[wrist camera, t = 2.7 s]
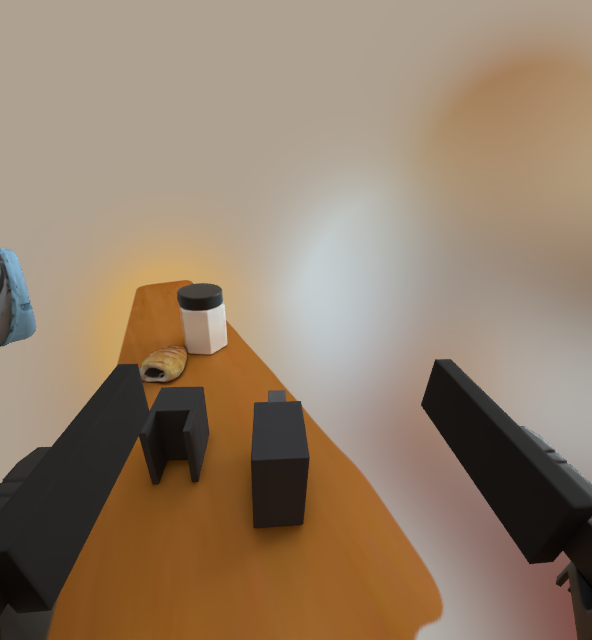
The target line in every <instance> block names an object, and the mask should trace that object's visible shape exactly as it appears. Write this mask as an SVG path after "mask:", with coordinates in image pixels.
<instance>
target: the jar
mask: <svg viewBox="0 0 592 640" xmlns="http://www.w3.org/2000/svg"><path fill="white" fill-rule="evenodd" d="M177 295H178V296H177V299H178V305H179V311H180V318H181V324H182V331H183V338H184V343H185V346H186V349H187V351H188V353H189V354H208V355H211V354H213V353H215V352H216V351H218V350H220V349H221V348H223V347H225V346H226V345H227V332H226V318H225V306H224V303H223V298H222V289H221V288H220V287H219V286H217V285H213V284H204V283H201V284H192V285H187V286H184V287H182V288H180V289H179V290H178V291H177Z"/></svg>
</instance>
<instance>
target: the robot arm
mask: <svg viewBox="0 0 592 640" xmlns="http://www.w3.org/2000/svg"><path fill="white" fill-rule="evenodd" d="M35 330H36V323H35V318H34V313H33V310H32V306H31V304H30V299H29V294H28V290H27V286H26V283H25V279H24V276H23V273H22V269H21V266H20V263H19V260H18V258H17V256H16V254H15V253H14V252H13V251H12V250H10V249H0V347H1V346H5V345H7V344H9V343H11V342H15V341H19V340H23V339H26V338H28V337H30V336H32V335H33V333H34V332H35ZM421 406H422V407H423V409H424V410H425V412H426V413H427V414H428V416H429V417H430V419H431V420H432V422H433V423H434V425H435V426H436V428H437V429H438V431H439V432H440V433H441V435H442V436H443V438H444V439H445V441H446V442H447V444H448V445H449V447H450V448H451V450H452V451H453V452H454V454H455V455H456V457H457V458H458V460H459V461H460V463H461V464H462V466H463V467H464V469H465V470H466V472H467V473H468V474H469V476H470V477H471V479H472V480H473V482H474V483H475V485H476V486H477V488H478V489H479V490H480V492H481V494H482V495H483V496H484V498H485V499H486V501H487V502H488V504H489V505H490V507H491V508H492V510H493V511H494V513H495V514H496V515H497V517H498V518H499V520H500V521H501V523H502V524H503V525H504V527H505V529H506V530H507V532H508V533H509V534H510V536H511V537H512V539H513V540H514V542H515V543H516V544H517V546H518V548H519V549H520V550H521V552H522V553H523V555H524V556H525V558H526V559H527V561H528V562H529V564H535V563H546V562H553V561H554V560H555V559H556V558H557V557H558V556H559V554H560V553H561V552H562V551H564V552H565V554H566V555H567V556H568V558H570V560H571V562H570V563H569V564H568V565H567V567H566V568H565V569H564V570H563V571H562V572H561V573H560V574H559V575H558V576H557V580H556V584H557V585H559V586H560V587H561V586H562V585H563V584H564V583H565V582H566V581H567V579H568V578H569V582H570V587H569V589H568V591H569V592H571V596H572V603H573V610H574V616H575V624H576V630H577V637H578V640H592V484H591V483H590V482H589V481H588V480H587V479H586V478H584V477H583V476H582V475H581V474H580V473H579V472H578V471H577V470H576V469H575V468H574V467H573V466H571V464H568V463H567V461H566V460H565V459H564V458H563V457H562V456H561V455H560V454H559V453H556V452H555V449H553V448H552V447H551V446H550V445H549V444H548V443H547V442H546V441H545V440H544V439H543V438H542V437H540V436H539V435H537V434H536V433H534V432H533V431H531V430H530V429H528V428H527V427H525V426H518V425H517V424H516V423H515V422H514V421H513V420H512V419H511V418H510V417H509V416H508V415H507V414H506V413H505V412H504V411H503V410H502V409H501V408H500V407H499V406H498V405H497V404H496V403H495V402H494V401H493V400H492V399H491V398H490V397H489V396H488V395H487V394H486V393H485V392H484V391H482V389H481V388H479V386H477V385H476V384H475V383H474V382H473V381H472V380H471V379H470V378H469V377H468V376H467V375H466V374H465V373H464V372H463V371H462V370H461V369H460V368H459V367H458V366H457V365H456V364H455V363H454V362H453V361H452V360H451V359H444V360H443V359H442V360H435V362H434V366H433V368H432V372H431V375H430V378H429V381H428V385H427V388H426V391H425V394H424V397H423V400H422V403H421ZM149 414H150V413H149V408H148V404H147V400H146V396H145V392H144V388H143V384H142V380H141V376H140V372H139V368H138V364H118V365H117V367H116V368H115V369H114V370H113V371H112V373H111V374H110V375H109V377H108V378H107V379H106V380H105V381H104V383H103V384H102V385H101V387H100V388H99V389H98V390H97V391H96V393H95V394H94V395H93V396H92V397H91V399H90V400H89V401H88V402H87V404H86V405H85V406H84V407H83V409H82V410H81V411H80V412H79V414H78V415H77V416H76V417H75V419H74V420H73V421H72V422H71V423H70V425H69V426H68V427H67V429H66V430H65V431H64V432H63V433H62V435H61V436H60V437H59V438H58V439H57V441H56V442H55V443H54V444H53V446H52V447H38V448H37V449H36V450H34V451H33V452H31V453H30V454H29V455H28V456H26V457H25V458H23V459H22V460H21V461H19V462H18V463H17V464H16V465H15V467H14V468H13V469H12V470H11V471H10V472H9V473H8V475H6V477H5V478H4V479H3V482H2V483H0V615H1V613H2V612H3V610H4V609H5V607H6V605H7V604H8V603H9V605H10V606H11V607H12V608H13V609H14V610H15V611H16V612H17V613H27V612H38V611H48V610H51V609H52V607H53V605H54V603H55V601H56V599H57V597H58V595H59V593H60V591H61V589H62V587H63V585H64V583H65V581H66V579H67V577H68V575H69V573H70V571H71V570H72V568H73V566H74V564H75V562H76V560H77V558H78V556H79V554H80V552H81V550H82V548H83V546H84V544H85V542H86V540H87V538H88V536H89V534H90V532H91V530H92V528H93V526H94V524H95V522H96V520H97V518H98V516H99V514H100V512H101V510H102V508H103V506H104V504H105V502H106V500H107V498H108V496H109V494H110V492H111V490H112V488H113V486H114V484H115V482H116V480H117V478H118V476H119V474H120V472H121V470H122V468H123V466H124V464H125V462H126V460H127V458H128V456H129V454H130V452H131V450H132V448H133V446H134V444H135V442H136V440H137V438H138V436H139V434H140V432H141V430H142V428H143V426H144V424H145V422H146V420H147V418H148V416H149ZM0 640H1V629H0Z"/></svg>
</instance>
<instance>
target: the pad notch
mask: <svg viewBox="0 0 592 640" xmlns="http://www.w3.org/2000/svg"><path fill="white" fill-rule="evenodd" d="M149 413H150V414H149V416H148V418H147V420H146V422H145V424H144V426H143V428H142V430H141V432H140V434H139V437H140V441H141V445H142V448H143V452H144V455H145V459H146V463H147V466H148V470H149V473H150V477H151V480H152V484H159V482H160V479H161V476H162V473H163V471H164V468H165V465H166V462H167V460H182V459H188V463H189V468H190V474H191V479H192V482H198V480H199V475H200V471H201V467H202V462H203V458H204V454H205V449H206V445H207V440H208V436H209V427H208V419H207V411H206V403H205V395H204V388H203V387H168V388H161V390H160V392H159V394H158V396H157V398H156V400H155V402H154V404H153V406H152V408H151V409H150V412H149Z"/></svg>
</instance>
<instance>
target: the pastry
mask: <svg viewBox="0 0 592 640" xmlns="http://www.w3.org/2000/svg"><path fill="white" fill-rule="evenodd" d="M186 360H187V350H186V349H185V348H184V347H181V346H176V345H170V346H168V347H166V348H162V349H160V350H156V351H155V352H153V353H150V354H149V357H147V358H145V359H144V360H143V362H142V364H141V368H140V370H139V372H140V376H141V379H142V380H143V381H146V382H156V381H162V382H166V381H170V380H174V379H175V378H177V377H178V376H179V375H180V374H181V372H182V371H183V369H184V367H185V364H186Z"/></svg>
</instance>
